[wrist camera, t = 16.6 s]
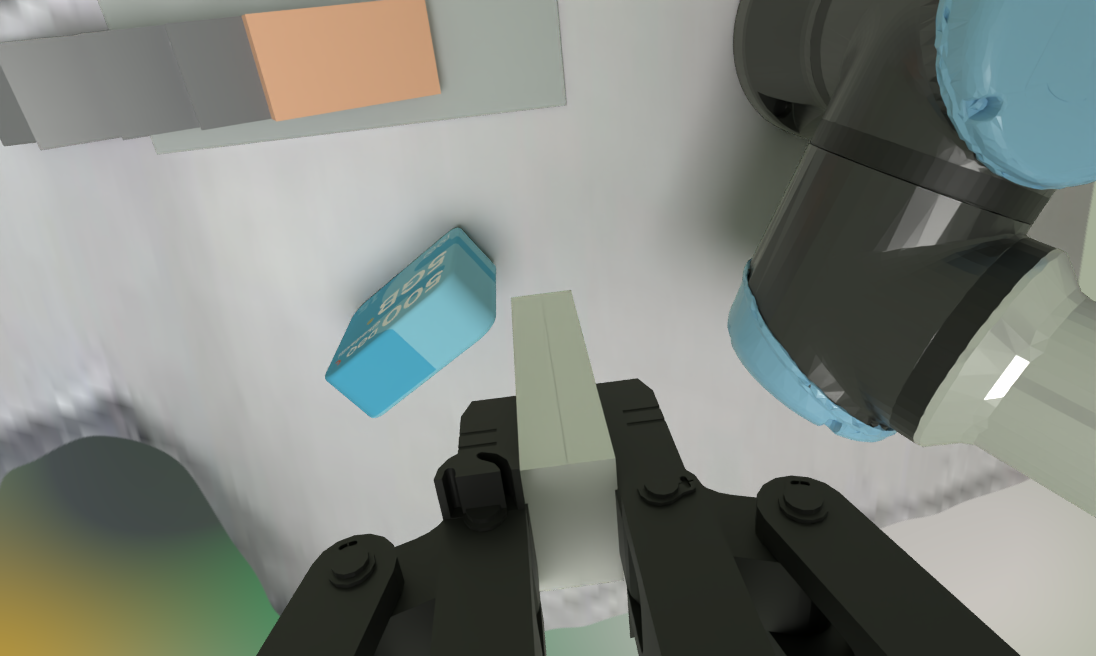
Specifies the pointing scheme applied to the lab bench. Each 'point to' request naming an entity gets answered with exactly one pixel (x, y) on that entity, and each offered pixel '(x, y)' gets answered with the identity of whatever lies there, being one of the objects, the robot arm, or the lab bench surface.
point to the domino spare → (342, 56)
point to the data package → (416, 324)
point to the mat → (466, 90)
